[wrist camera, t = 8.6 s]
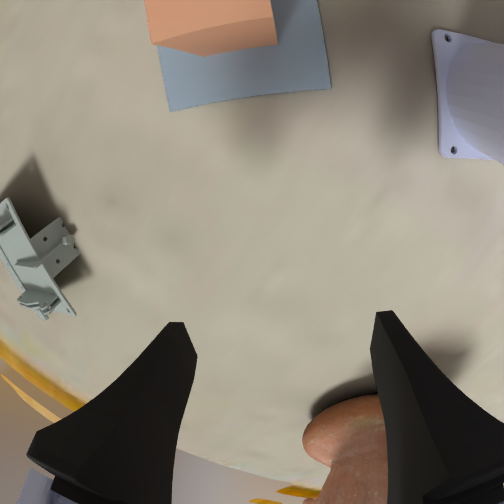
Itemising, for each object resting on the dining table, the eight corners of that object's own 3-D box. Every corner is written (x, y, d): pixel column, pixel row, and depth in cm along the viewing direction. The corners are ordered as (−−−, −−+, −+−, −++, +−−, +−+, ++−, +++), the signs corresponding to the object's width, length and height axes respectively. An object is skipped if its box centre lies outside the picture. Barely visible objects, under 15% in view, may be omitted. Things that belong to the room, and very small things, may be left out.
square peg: (266, -18, 11) (252, -75, 5) (277, 44, 13) (273, 16, 7) (193, -4, 12) (138, -45, 6) (203, 56, 14) (151, 43, 8)
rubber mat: (304, -49, 10) (304, -51, 9) (330, 88, 14) (331, 89, 14) (149, -19, 11) (147, -20, 11) (171, 111, 16) (170, 112, 15)
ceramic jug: (335, 445, 36) (338, 530, 24) (269, 417, 32) (261, 527, 20) (447, 395, 29) (472, 489, 17) (409, 349, 24) (446, 488, 12)
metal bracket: (-20, 182, 13) (81, 351, 20) (41, 147, 17) (122, 304, 25) (-39, 214, 20) (27, 325, 27) (-1, 188, 24) (56, 294, 31)
